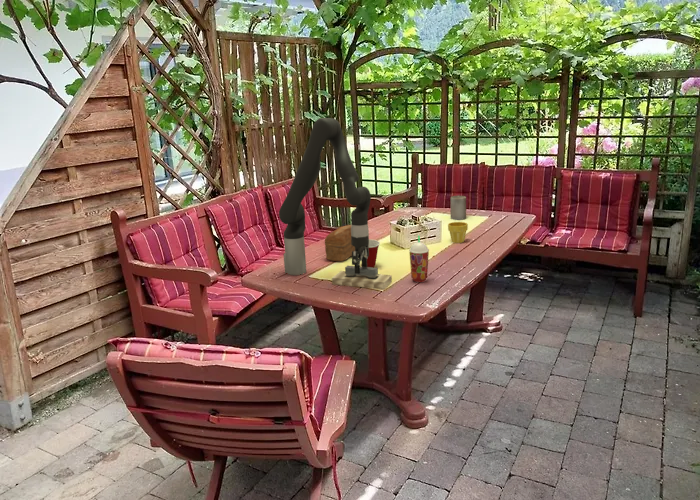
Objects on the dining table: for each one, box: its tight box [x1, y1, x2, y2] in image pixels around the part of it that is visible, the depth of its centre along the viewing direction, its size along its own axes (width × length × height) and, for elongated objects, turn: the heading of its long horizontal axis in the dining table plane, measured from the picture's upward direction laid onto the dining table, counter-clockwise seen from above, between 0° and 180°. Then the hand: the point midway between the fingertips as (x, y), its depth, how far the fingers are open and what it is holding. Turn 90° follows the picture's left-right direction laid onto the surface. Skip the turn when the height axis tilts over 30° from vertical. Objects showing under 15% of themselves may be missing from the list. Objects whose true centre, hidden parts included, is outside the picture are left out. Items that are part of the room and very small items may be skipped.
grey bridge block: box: [344, 265, 379, 279], centre depth 247 cm, size 14×3×7 cm, turn 68°
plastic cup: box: [367, 238, 381, 268], centre depth 268 cm, size 11×11×12 cm
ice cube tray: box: [331, 270, 393, 290], centre depth 247 cm, size 24×10×3 cm, turn 68°
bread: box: [324, 224, 355, 262], centre depth 289 cm, size 12×28×14 cm, turn 154°
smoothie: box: [409, 235, 430, 283], centre depth 245 cm, size 8×8×20 cm
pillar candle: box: [450, 195, 467, 221], centre depth 357 cm, size 10×10×15 cm
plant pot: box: [447, 221, 469, 244], centre depth 305 cm, size 10×10×10 cm
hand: (361, 270), depth 246 cm, fingers open, 8 cm apart
